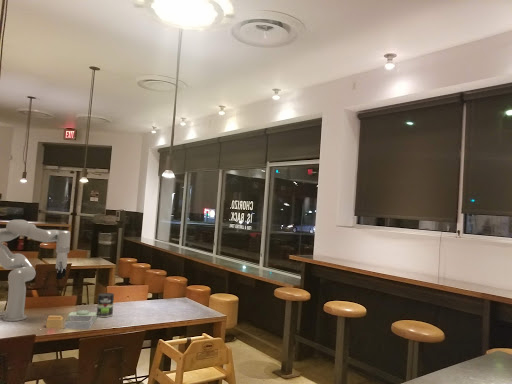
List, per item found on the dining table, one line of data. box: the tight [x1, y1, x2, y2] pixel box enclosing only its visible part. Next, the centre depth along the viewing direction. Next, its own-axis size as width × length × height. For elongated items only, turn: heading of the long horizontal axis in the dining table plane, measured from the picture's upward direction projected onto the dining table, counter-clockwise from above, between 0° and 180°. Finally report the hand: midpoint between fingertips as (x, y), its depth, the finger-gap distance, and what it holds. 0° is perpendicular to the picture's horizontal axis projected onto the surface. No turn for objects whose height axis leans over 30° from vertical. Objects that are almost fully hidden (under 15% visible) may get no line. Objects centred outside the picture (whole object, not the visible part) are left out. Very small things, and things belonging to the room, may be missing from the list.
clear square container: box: [64, 315, 94, 330], centre depth 247 cm, size 14×14×4 cm
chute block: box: [45, 315, 64, 329], centre depth 241 cm, size 8×5×6 cm, turn 103°
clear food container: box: [66, 309, 98, 322], centre depth 258 cm, size 16×9×5 cm, turn 103°
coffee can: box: [96, 292, 115, 318], centre depth 272 cm, size 10×10×14 cm
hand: (61, 277), depth 250 cm, fingers open, 9 cm apart
